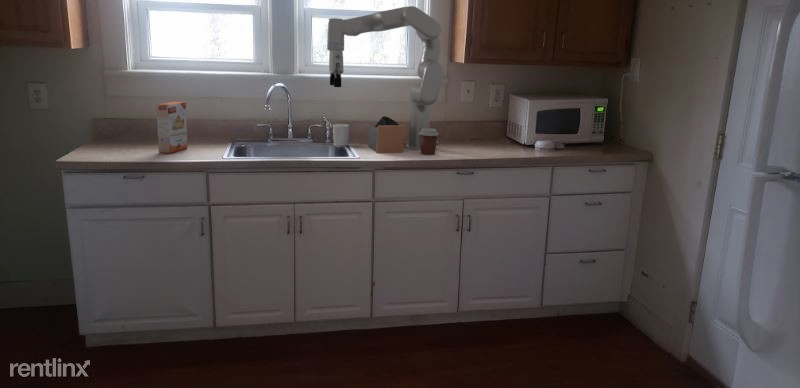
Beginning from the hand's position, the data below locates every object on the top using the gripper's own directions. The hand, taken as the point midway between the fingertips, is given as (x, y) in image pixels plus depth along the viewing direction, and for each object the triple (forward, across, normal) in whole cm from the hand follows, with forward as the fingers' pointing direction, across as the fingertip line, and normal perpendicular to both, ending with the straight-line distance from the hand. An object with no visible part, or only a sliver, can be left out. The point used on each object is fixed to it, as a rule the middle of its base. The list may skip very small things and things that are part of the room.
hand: (335, 86), depth 271 cm
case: (+30, -2, -24) cm, 38 cm away
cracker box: (+29, +6, +71) cm, 77 cm away
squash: (+30, +14, -29) cm, 44 cm away
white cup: (+30, +13, -5) cm, 33 cm away
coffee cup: (+30, -15, -41) cm, 53 cm away
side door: (+29, -10, -24) cm, 39 cm away
